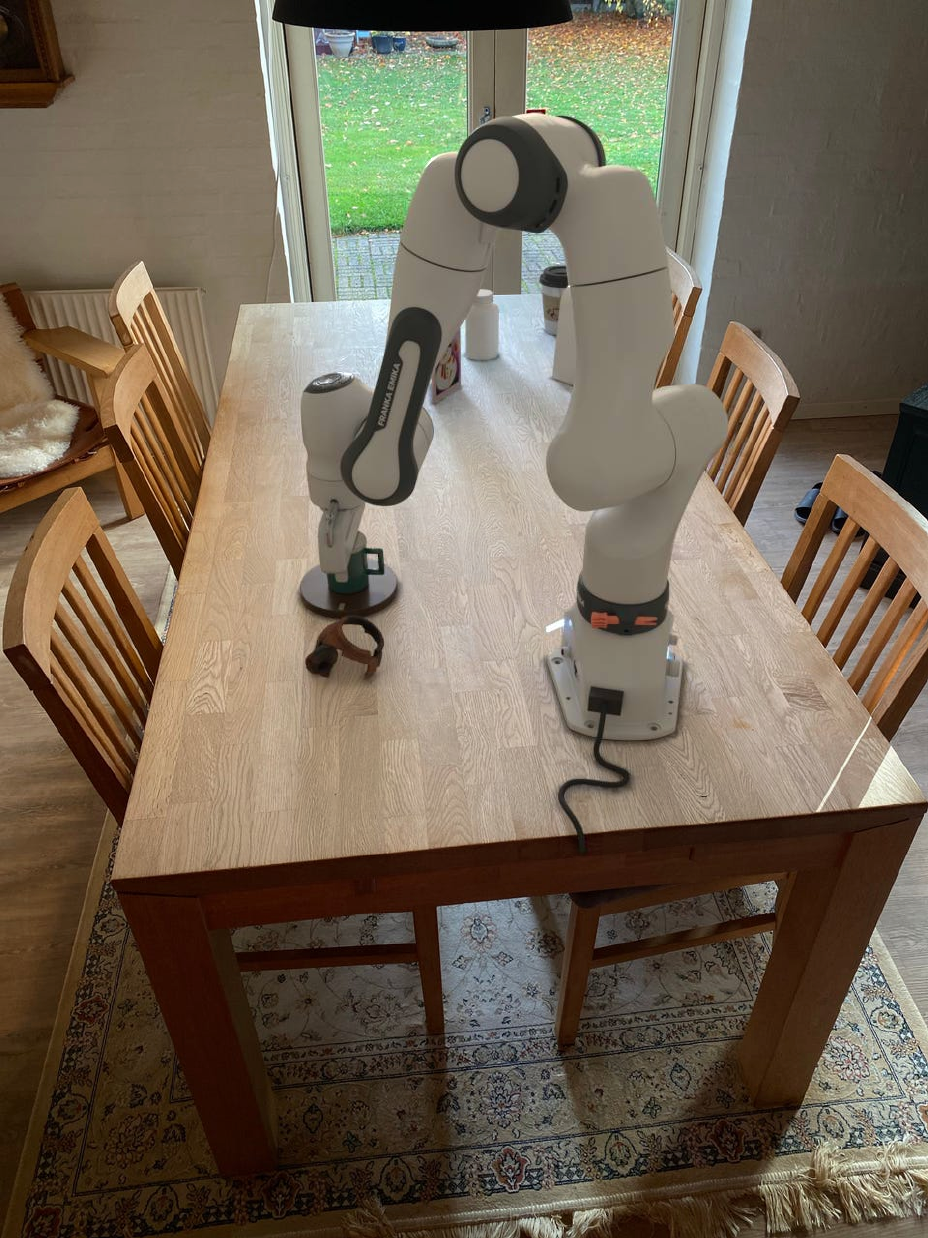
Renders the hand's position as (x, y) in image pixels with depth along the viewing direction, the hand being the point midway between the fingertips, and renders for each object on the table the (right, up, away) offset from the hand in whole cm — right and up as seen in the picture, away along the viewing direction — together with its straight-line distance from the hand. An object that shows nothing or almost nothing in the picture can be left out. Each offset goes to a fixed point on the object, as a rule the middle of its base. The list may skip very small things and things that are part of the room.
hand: (346, 565), depth 143 cm
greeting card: (+12, +42, +65) cm, 78 cm away
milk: (+46, +47, +71) cm, 97 cm away
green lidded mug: (+1, -3, +2) cm, 3 cm away
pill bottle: (+22, +55, +83) cm, 102 cm away
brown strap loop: (+1, -15, -12) cm, 20 cm away
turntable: (0, -4, +3) cm, 5 cm away
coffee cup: (+42, +66, +96) cm, 124 cm away
